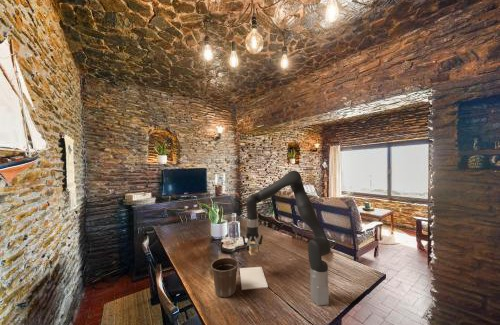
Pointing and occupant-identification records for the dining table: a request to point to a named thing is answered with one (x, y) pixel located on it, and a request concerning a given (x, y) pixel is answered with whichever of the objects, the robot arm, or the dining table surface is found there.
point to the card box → (253, 248)
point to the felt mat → (252, 278)
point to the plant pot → (225, 276)
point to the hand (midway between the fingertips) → (252, 250)
